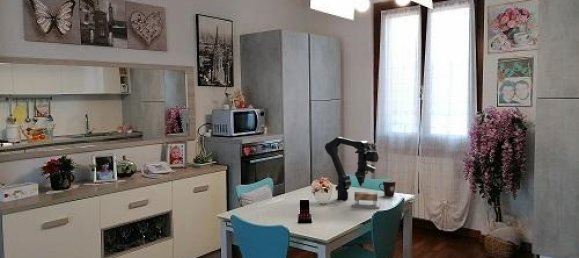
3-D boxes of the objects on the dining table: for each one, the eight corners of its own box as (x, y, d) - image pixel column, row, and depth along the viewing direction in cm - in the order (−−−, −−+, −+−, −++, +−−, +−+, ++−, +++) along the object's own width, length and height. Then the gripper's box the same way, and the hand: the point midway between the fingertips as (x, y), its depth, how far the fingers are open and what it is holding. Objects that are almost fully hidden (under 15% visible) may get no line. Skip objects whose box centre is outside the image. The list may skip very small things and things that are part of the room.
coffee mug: (394, 194, 314) (394, 179, 313) (396, 196, 305) (396, 182, 305) (377, 193, 315) (377, 179, 314) (379, 196, 306) (379, 182, 306)
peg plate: (351, 206, 279) (351, 200, 278) (353, 203, 288) (353, 197, 288) (379, 208, 274) (379, 202, 274) (380, 204, 284) (380, 198, 284)
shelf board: (354, 200, 280) (354, 193, 279) (354, 198, 285) (354, 191, 285) (377, 200, 277) (377, 194, 277) (377, 198, 282) (377, 192, 282)
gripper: (373, 163, 277) (372, 188, 278) (376, 159, 294) (376, 182, 296) (355, 162, 280) (354, 187, 281) (359, 158, 298) (359, 181, 299)
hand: (361, 184), depth 289 cm, fingers open, 9 cm apart
